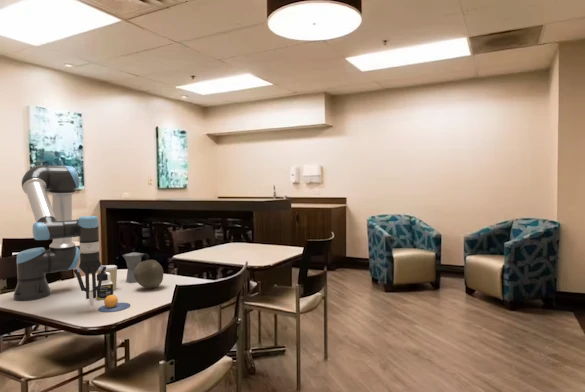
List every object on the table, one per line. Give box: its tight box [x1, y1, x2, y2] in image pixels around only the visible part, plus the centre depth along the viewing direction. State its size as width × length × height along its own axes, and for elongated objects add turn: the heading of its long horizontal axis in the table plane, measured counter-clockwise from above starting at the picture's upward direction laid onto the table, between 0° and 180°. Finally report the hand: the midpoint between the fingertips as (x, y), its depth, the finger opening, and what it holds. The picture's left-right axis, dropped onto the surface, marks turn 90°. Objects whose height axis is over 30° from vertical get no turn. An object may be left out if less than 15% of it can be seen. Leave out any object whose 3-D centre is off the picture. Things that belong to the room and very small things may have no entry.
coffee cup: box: [97, 264, 118, 291], centre depth 206 cm, size 9×9×12 cm
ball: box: [103, 294, 119, 308], centre depth 175 cm, size 6×6×6 cm
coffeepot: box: [121, 248, 150, 284], centre depth 224 cm, size 15×9×18 cm, turn 88°
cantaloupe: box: [134, 259, 164, 290], centre depth 206 cm, size 14×14×15 cm
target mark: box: [97, 302, 131, 313], centre depth 175 cm, size 13×13×1 cm
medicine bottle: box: [95, 272, 114, 301], centre depth 192 cm, size 7×7×12 cm
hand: (91, 305), depth 172 cm, fingers closed
